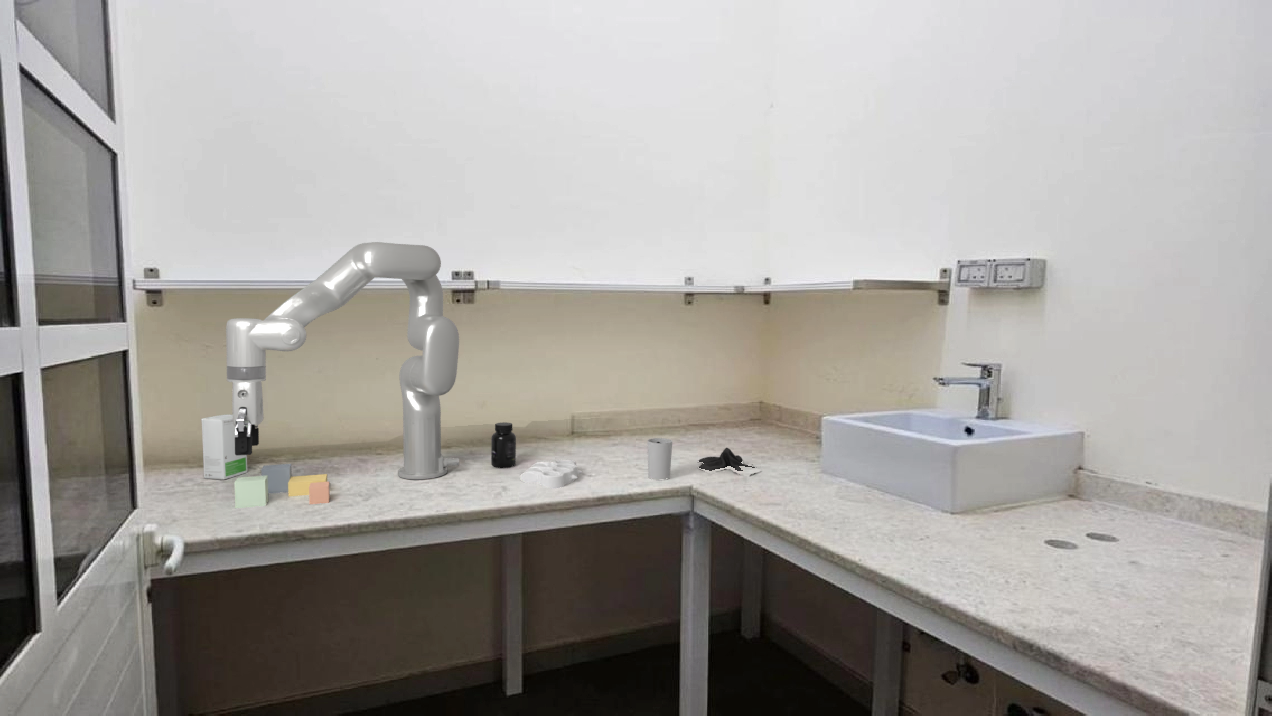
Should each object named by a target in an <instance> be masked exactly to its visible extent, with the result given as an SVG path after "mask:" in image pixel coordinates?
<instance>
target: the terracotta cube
mask: <svg viewBox="0 0 1272 716" xmlns="http://www.w3.org/2000/svg"><path fill="white" fill-rule="evenodd" d="M330 491H331V490H330V481H327V482H317V483H310V486H309V495H308V497H309V498H308V499H309V500H308V501H309V502H308V503H309V505H317V504H319V505H320V503H321V504H329V503H330V499H331V497H330V496H331V495H330V493H331V492H330Z"/></svg>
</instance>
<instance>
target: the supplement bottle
mask: <svg viewBox="0 0 1272 716" xmlns="http://www.w3.org/2000/svg"><path fill="white" fill-rule="evenodd" d="M513 430H514V429H513V423H511V422H506V421H505V422H504V421H503V422H496V423H495V425H494V431H495V432H494V433H493V434H492V435H491V439H490V440H491V443H490V445H491V446H490V449H491V451H490V452H491V453H490V456H491V458H490V460H491V461H490V464H491V466H492V467H493V468H496V469H510V468H513V467H515V465H516V463H517V462H516V461H517V455H516V454H517V435H516V434H515V433H514V432H513Z"/></svg>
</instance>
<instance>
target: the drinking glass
mask: <svg viewBox="0 0 1272 716" xmlns="http://www.w3.org/2000/svg"><path fill="white" fill-rule="evenodd" d="M672 450H673V440H672V439H669V438H662V437H654V438H649V439H647V471H648V473H647V474H648V479H650V478H652V479H666V478H669V477H670V478H671V467H672V466H671V465H672ZM670 478H669V479H670ZM652 479H651V480H652Z"/></svg>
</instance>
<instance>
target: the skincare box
mask: <svg viewBox="0 0 1272 716" xmlns="http://www.w3.org/2000/svg"><path fill="white" fill-rule="evenodd" d="M235 432H236V426H234V425H233V415H232V414H220V415H214V416H207V417H204V418H201V434H202V435H201V437H202V439H201V441H202V453H203V454H202V458H203V479H207V480H227V479H230V478H234V477H237V476H240V475H241V476H242V475H243V474H247V473H248V455H235Z"/></svg>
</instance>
